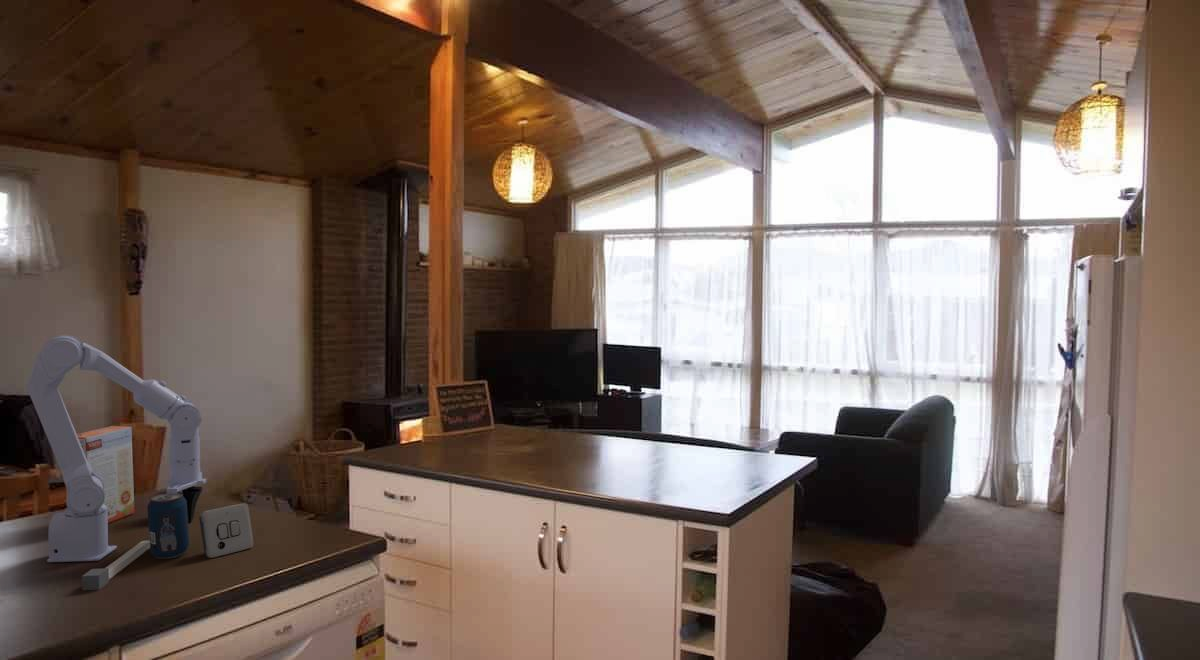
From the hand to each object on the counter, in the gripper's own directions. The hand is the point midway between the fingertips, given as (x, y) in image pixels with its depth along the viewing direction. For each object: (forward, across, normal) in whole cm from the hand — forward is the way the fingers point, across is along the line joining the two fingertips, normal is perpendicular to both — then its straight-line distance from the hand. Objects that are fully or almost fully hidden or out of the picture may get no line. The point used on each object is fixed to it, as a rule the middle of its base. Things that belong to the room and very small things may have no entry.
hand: (185, 523), depth 167 cm
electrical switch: (+4, -7, -10) cm, 13 cm away
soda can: (+4, -8, 0) cm, 9 cm away
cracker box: (+4, +17, +24) cm, 30 cm away
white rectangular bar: (+4, -15, +7) cm, 17 cm away
